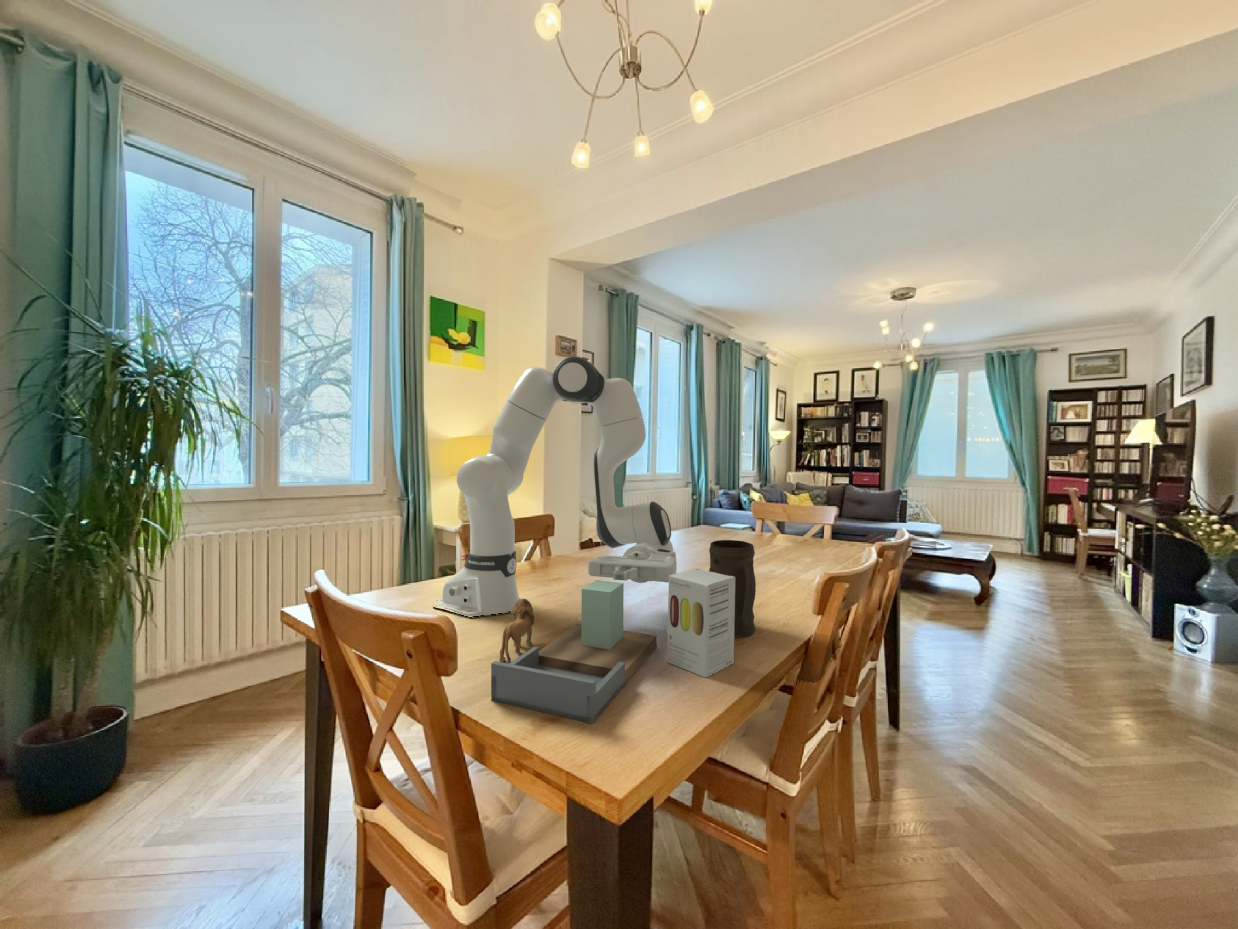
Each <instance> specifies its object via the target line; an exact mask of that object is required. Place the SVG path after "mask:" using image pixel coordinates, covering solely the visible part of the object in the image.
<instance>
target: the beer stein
mask: <svg viewBox="0 0 1238 929" xmlns="http://www.w3.org/2000/svg"><path fill="white" fill-rule="evenodd" d="M709 545H710V546H709V551H708V553H709V570H708V571H709V572H714V573H719V574H723V575H727V576H733V577H735V620H734V638H745V637H749V636H751V635H753V634H754V633H755V631H756V626H755V622H754V619H755V614H754V603H755V599H756V587H757V585H756V582H757V581H756V576H755V569H754V557H755V554H756V553H755V547H754V544H753V543H751V542H748V541H744V540H736V539H735V540H734V539H733V540H732V539H720V540H714V541H712V542H710V544H709Z"/></svg>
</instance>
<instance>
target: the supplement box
mask: <svg viewBox="0 0 1238 929" xmlns="http://www.w3.org/2000/svg"><path fill="white" fill-rule="evenodd" d="M667 596H668V599H667V600H668V603H667V604H668V605H667V646H666V647H667V650H666V652H667V653H666V662H667V663H668V664H671V665H672V666H673V665H674V666H676V667H678V668H681V669H684V670H685V671H688V672H690V673H693V674H696V675H698V676H700V677H703V678H709V677H710V676H712V674H713V675H715V674H716V673H718V672H720V671H722V670H724V669H726V668H728V667H730V666H731V664H732V665H733V664H734V663H735V662H734V661H735V660H734V659H735V658H734V656H735V637H734V620H735V577H733V576H727V575H723V574H719V573H714V572H709V570H703V569H701V568H692V569H689V570H685V571H680V572H676V574H673V575H670V576H669V582H668V594H667ZM729 665H730V666H729ZM725 667H726V668H725Z"/></svg>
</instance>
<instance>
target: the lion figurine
mask: <svg viewBox="0 0 1238 929" xmlns="http://www.w3.org/2000/svg"><path fill="white" fill-rule="evenodd" d="M510 613H511V614H512V615H513V617H514V621H510V622H508V623H507V624H506V625H505V627H504V629H503V631H502V632H503V633H502V639H501V640H502V641H501V647H500V650H499V660H498V662H503V663H504V661H506V662H507V663H508V664H509V663H511V662H512V661H511V660H512V658H511V656H510V654H509V653H510V652H509V641H510V639H512V641H513V644H514V645H515V653H516V655H517V658H518V657H520V656H521V655H523V654H524V653H525V652H521V645H522V644H521V643H522V638H523V637H524V636H525V635H526V641H525V644H526V645H527V646H533V642H532V635H533V629H532V628H533V625H534V624H535V615H534V609H533V606H532V603H531V602H530V601H529V600H528V599H527V598H519V599H518V602H516V604H515V606H514V607H512V608H511V611H510ZM514 645H513V646H514ZM505 655H506V656H505Z"/></svg>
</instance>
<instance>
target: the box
mask: <svg viewBox="0 0 1238 929" xmlns="http://www.w3.org/2000/svg"><path fill="white" fill-rule="evenodd" d="M539 651H540V647H539V646H533V647H531V648H530V649H528V650H527V651H526V652H523V653H524V654H523V655H521V656H520V657H518V656H517V658H515V659H514V660H513V661H511V663H509V664H508V663H506V662H504V661H503V662H500V661H499V660H498V661H497V660H495V661H493V662H491V664H490V669H491V671H490V681H491V685H490V688H491V689H490V690H491V691H490V692H491V693H490V694H491V696H490V700H491V701H493V702H497V703H501V704H506V705H509V706H510V705H511V706H514V707H518V708H523V709H527V710H532V711H536V712H541V713H545V714H548V715H553V716H558V717H563V718H566V719H570V720H575V721H580V722H584V723H588V724H594V723H595V722H596V721H597V719H599V717H600V716H601V715H602V714H603V713H604V711H605V710H606V709H607V708H608V706H609V705H610V704H611V703H612V702H613V700H614V699H615V698H616V697H617V696H618V695H619V693H620V692H621V691H622V689H624V687H625V686H626V685H625V662H619V663H618V664H617V665H616V666H615V667H614V668H613V669H612V670H611V671H610V672H609V673H608V674H607V675H606V676H605V677H602V676H597V675H591V674H586V673H581V672H576V671H570V670H565V669H560V668H555V667H549V666H544V665H539Z"/></svg>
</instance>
